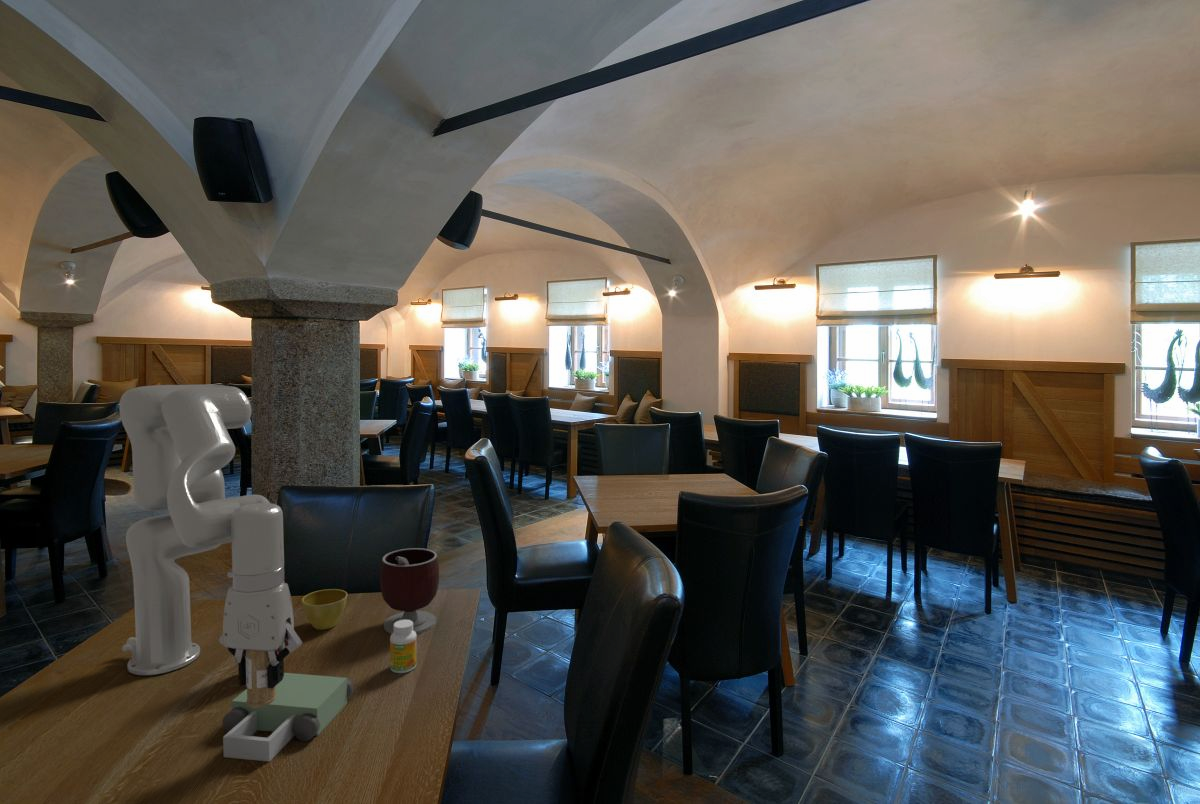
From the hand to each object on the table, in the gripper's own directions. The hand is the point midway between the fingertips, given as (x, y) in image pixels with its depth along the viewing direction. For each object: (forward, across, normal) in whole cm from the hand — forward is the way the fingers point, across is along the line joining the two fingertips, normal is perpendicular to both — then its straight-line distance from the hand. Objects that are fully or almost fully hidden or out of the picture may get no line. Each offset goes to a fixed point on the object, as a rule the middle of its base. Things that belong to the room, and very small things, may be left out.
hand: (261, 681), depth 102 cm
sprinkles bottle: (+4, 0, 0) cm, 4 cm away
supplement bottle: (+11, +13, +27) cm, 32 cm away
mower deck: (+11, 0, +5) cm, 12 cm away
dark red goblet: (+11, +6, +46) cm, 48 cm away
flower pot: (+11, -14, +43) cm, 47 cm away
